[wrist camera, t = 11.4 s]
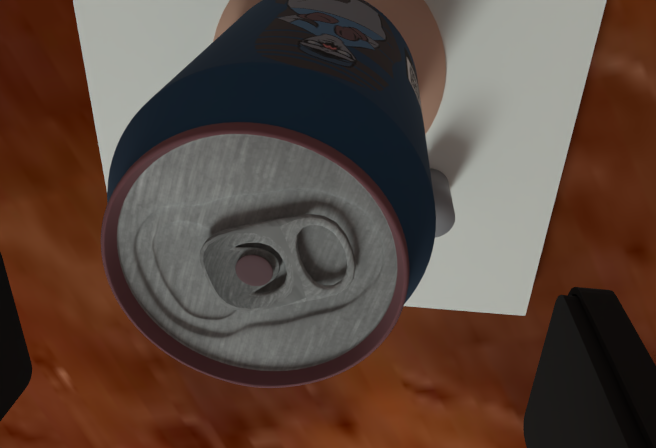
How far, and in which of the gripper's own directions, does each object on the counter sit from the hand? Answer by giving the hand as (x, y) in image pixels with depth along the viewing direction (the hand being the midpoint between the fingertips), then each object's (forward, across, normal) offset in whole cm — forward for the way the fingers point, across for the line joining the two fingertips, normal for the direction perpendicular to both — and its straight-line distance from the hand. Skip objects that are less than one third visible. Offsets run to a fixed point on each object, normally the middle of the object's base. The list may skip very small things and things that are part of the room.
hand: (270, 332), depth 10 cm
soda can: (+13, +1, -1) cm, 13 cm away
